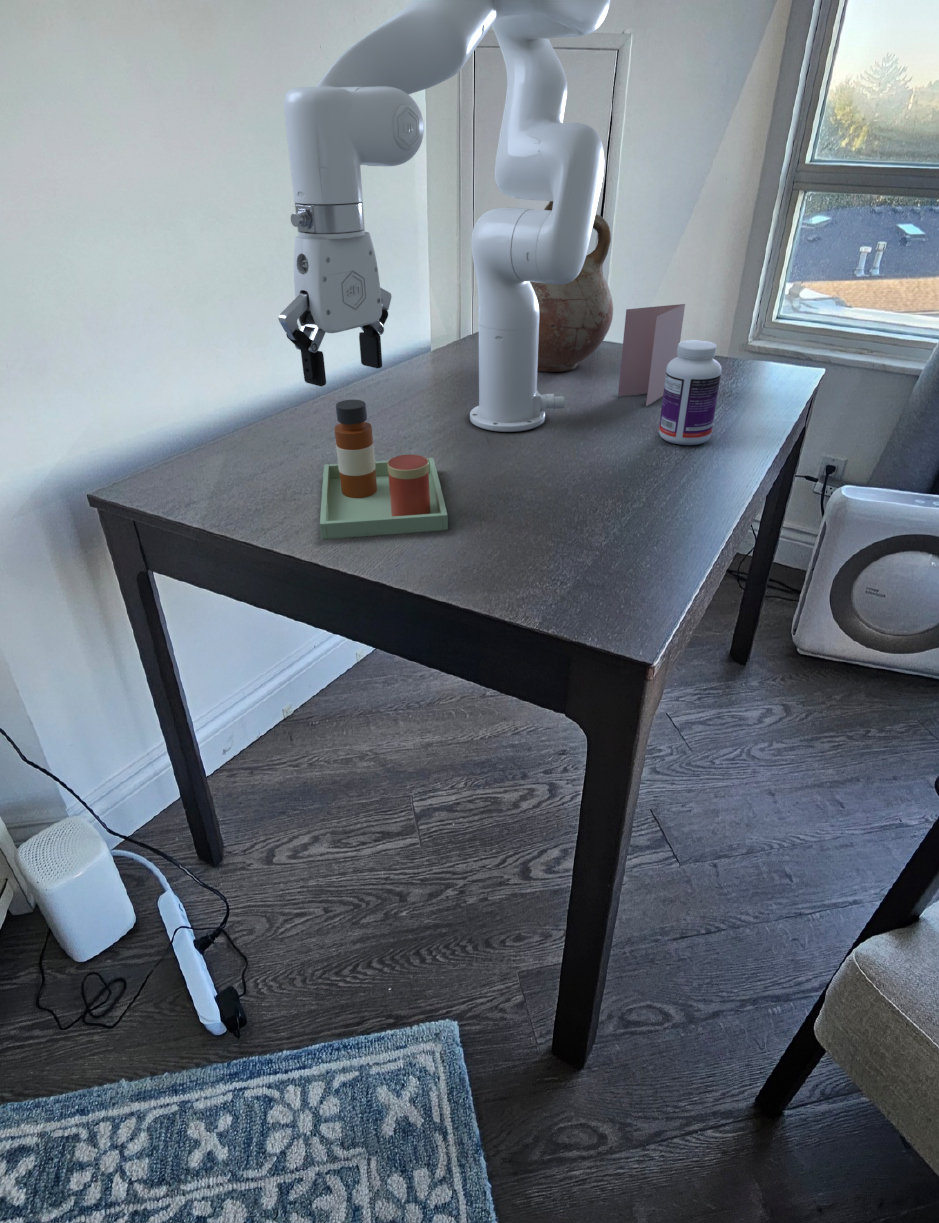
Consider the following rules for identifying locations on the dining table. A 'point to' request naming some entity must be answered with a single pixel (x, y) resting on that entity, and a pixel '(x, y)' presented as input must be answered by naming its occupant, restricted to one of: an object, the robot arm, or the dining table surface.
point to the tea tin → (409, 485)
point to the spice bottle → (355, 450)
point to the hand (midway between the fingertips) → (344, 374)
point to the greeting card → (649, 349)
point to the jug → (575, 310)
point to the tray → (375, 508)
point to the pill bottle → (690, 394)
